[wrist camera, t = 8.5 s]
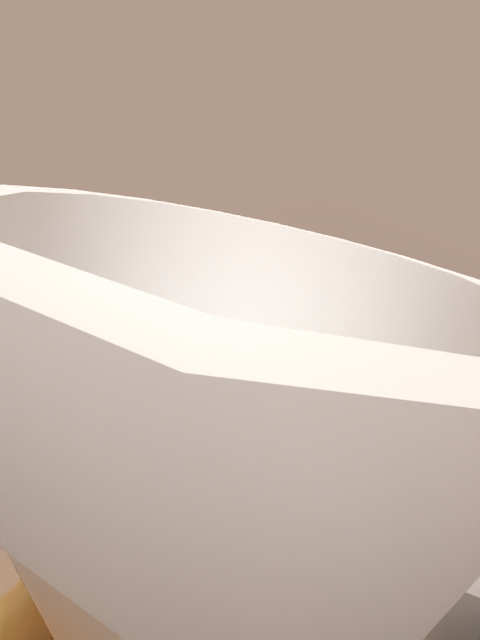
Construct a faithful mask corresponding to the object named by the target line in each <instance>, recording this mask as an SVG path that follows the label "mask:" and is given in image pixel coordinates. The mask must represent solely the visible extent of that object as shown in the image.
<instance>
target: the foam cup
mask: <svg viewBox="0 0 480 640" xmlns="http://www.w3.org/2000/svg"><path fill="white" fill-rule="evenodd" d="M0 548H1V549H3V550H4V551H6V552H7V553H8V555H9V557H10V559H11V561H12V563H13V565H14V567H15V568H16V570H17V572H18V574H19V576H20V578H21V580H22V581H23V583H24V585H25V587H26V589H27V591H28V593H29V594H30V596H31V598H32V600H33V602H34V604H35V605H36V607H37V609H38V611H39V613H40V615H41V617H42V618H43V620H44V622H45V624H46V626H47V628H48V630H49V631H50V633H51V635H52V637H53V639H54V640H423V639H424V638H425V637H426V636H427V634H428V633H429V632H430V631H431V630H432V629H433V628H434V627H435V626H436V624H437V623H438V622H439V621H440V620H441V619H442V618H443V617H444V616H445V614H446V613H447V612H448V611H449V610H450V609H451V608H452V607H453V606H454V604H455V603H456V602H457V601H458V600H459V599H460V598H461V597H462V596H463V595H464V593H465V592H466V591H467V590H468V589H469V588H470V587H471V586H472V585H473V583H474V582H475V581H476V580H477V579H478V578H479V577H480V280H478V279H475V278H472V277H469V276H466V275H463V274H459V273H456V272H453V271H450V270H447V269H444V268H441V267H437V266H434V265H431V264H428V263H425V262H422V261H419V260H415V259H412V258H409V257H406V256H402V255H398V254H395V253H391V252H388V251H384V250H380V249H377V248H373V247H369V246H366V245H362V244H358V243H355V242H351V241H347V240H344V239H340V238H336V237H332V236H328V235H324V234H319V233H315V232H311V231H307V230H302V229H298V228H294V227H290V226H285V225H281V224H277V223H272V222H268V221H263V220H258V219H253V218H248V217H243V216H238V215H233V214H228V213H223V212H218V211H214V210H208V209H202V208H197V207H191V206H185V205H179V204H173V203H167V202H161V201H155V200H150V199H143V198H135V197H127V196H119V195H112V194H104V193H96V192H89V191H80V190H73V189H59V188H43V187H29V186H13V185H0Z"/></svg>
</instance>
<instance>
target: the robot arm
mask: <svg viewBox="0 0 480 640" xmlns="http://www.w3.org/2000/svg"><path fill="white" fill-rule="evenodd" d="M423 640H480V577H479V578H478V579H477V580H476V581H475V582H474V583H473V585H472V586H471V587H470V588H469V589H468V590H467V591H466V592H465V593H464V595H463V596H462V597H461V598H460V599H459V600H458V601H457V602H456V603H455V604H454V606H453V607H452V608H451V609H450V610H449V611H448V612H447V613H446V614H445V616H444V617H443V618H442V619H441V620H440V621H439V622H438V623H437V624H436V626H435V627H434V628H433V629H432V630H431V631H430V632H429V633H428V634H427V636H426V637H425V638H424V639H423Z"/></svg>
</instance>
